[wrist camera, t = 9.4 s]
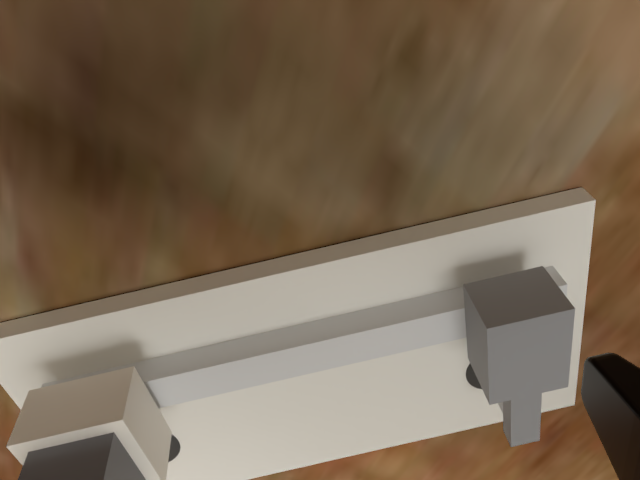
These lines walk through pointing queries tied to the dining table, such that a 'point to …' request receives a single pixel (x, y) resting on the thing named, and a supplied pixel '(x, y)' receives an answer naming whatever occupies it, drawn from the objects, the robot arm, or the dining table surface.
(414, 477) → the dining table surface
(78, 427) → the block
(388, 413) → the plate
